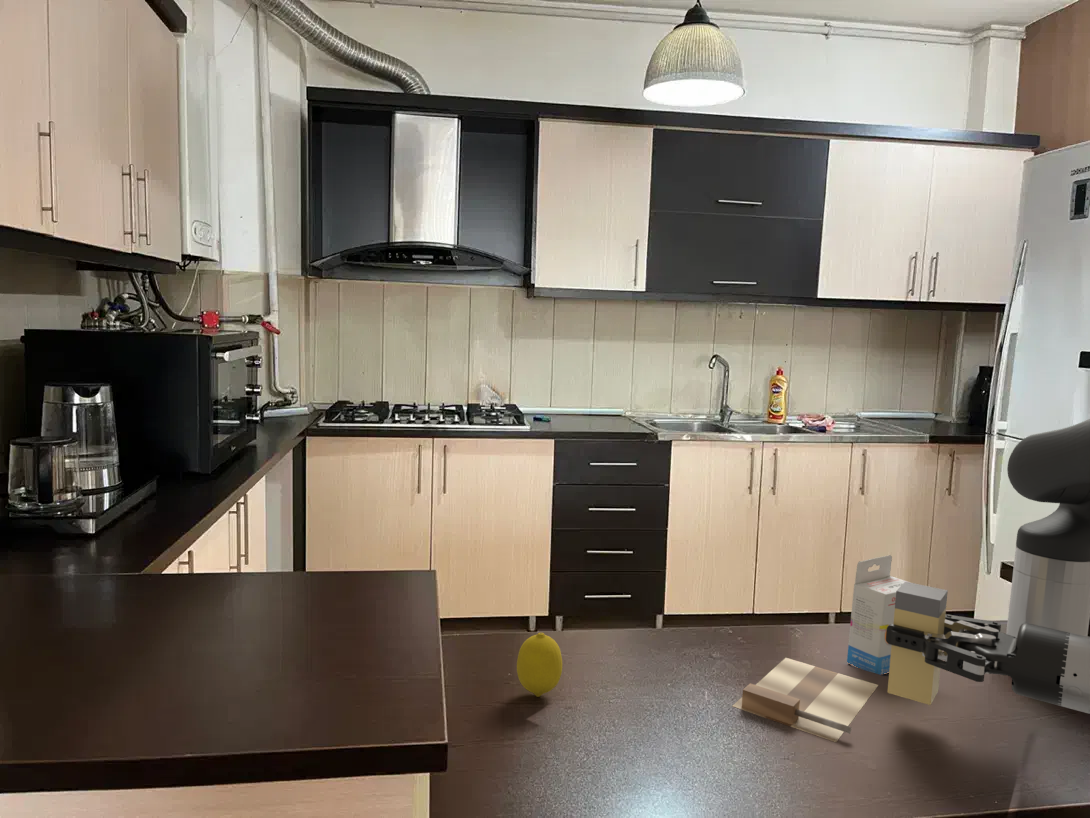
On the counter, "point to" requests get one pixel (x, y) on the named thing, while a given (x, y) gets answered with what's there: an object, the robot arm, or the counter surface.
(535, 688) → the lemon
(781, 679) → the plywood panel
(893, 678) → the yellow block grey top
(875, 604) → the ink box
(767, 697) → the awl
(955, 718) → the counter surface
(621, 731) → the counter surface
